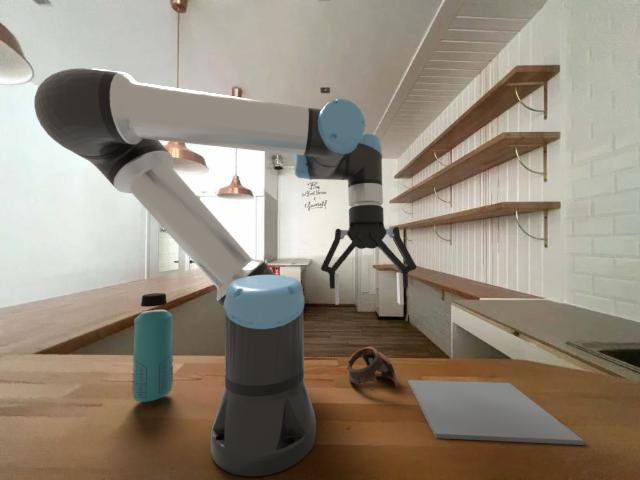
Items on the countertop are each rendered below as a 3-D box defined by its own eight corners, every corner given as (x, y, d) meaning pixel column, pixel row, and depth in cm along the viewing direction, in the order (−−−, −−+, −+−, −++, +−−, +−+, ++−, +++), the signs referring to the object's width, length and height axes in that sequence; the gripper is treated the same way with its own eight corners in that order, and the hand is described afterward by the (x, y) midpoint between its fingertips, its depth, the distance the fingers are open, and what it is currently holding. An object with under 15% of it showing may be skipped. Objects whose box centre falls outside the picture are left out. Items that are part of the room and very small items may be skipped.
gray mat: (435, 437, 39) (435, 433, 39) (408, 383, 56) (408, 380, 56) (583, 444, 38) (583, 440, 38) (509, 386, 54) (509, 383, 54)
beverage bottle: (177, 400, 50) (179, 292, 52) (136, 416, 46) (139, 297, 47) (166, 389, 55) (168, 290, 56) (126, 402, 50) (129, 293, 51)
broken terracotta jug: (405, 397, 52) (386, 363, 50) (361, 415, 53) (342, 382, 52) (392, 358, 63) (377, 329, 62) (356, 373, 65) (340, 346, 64)
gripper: (419, 207, 62) (422, 300, 61) (311, 211, 64) (313, 300, 63) (429, 201, 55) (433, 306, 54) (307, 205, 57) (309, 306, 56)
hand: (368, 303), depth 58 cm, fingers open, 13 cm apart
